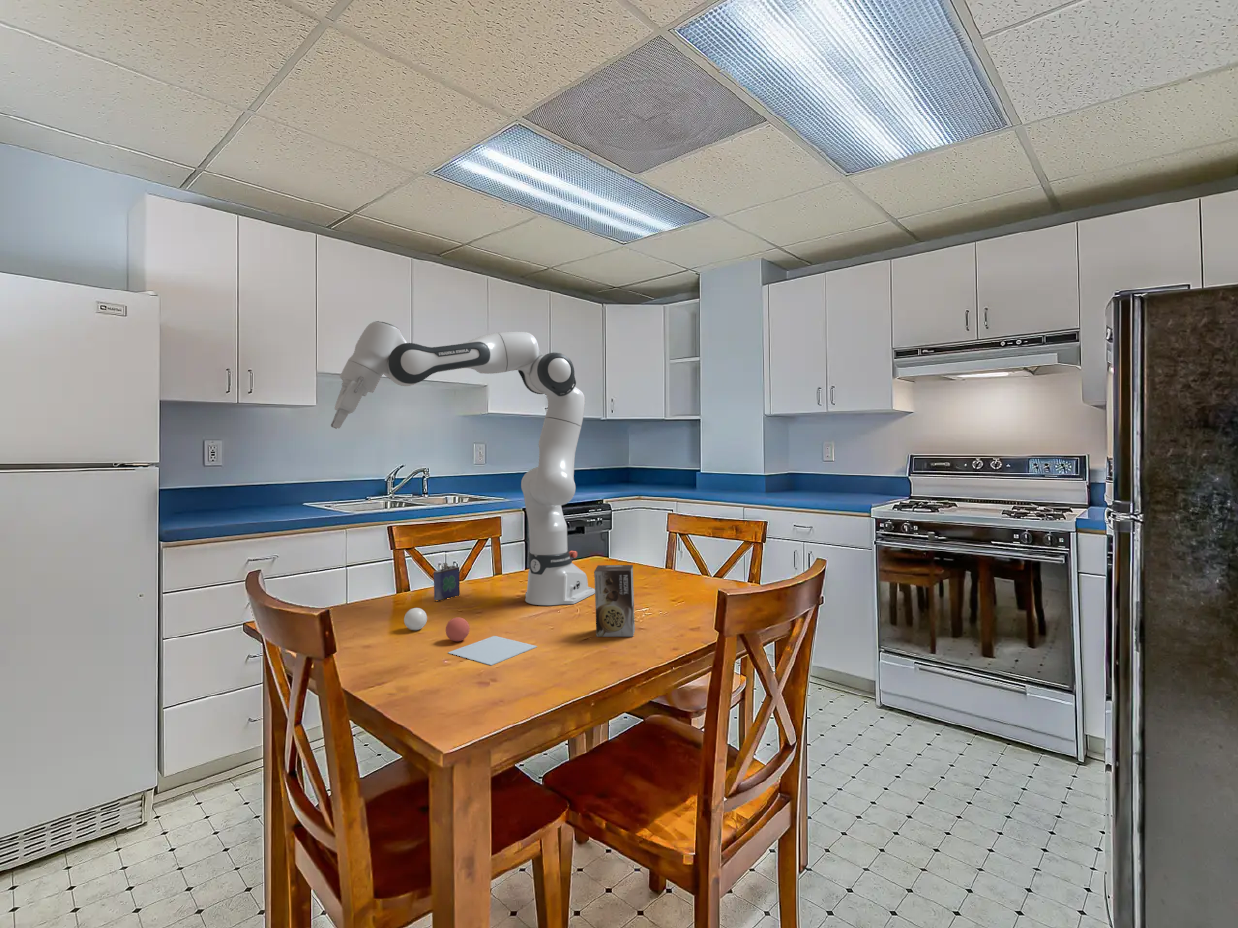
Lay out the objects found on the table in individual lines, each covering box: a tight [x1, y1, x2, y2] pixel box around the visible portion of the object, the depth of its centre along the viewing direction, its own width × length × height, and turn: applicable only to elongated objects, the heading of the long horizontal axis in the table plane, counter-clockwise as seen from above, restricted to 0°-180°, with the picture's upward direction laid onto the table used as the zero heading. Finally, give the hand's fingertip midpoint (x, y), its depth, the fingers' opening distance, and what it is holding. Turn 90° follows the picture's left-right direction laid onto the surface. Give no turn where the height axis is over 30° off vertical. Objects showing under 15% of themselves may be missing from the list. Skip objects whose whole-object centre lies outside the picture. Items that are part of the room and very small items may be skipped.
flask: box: [433, 562, 461, 602], centre depth 190 cm, size 9×3×11 cm, turn 146°
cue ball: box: [403, 607, 428, 631], centre depth 159 cm, size 6×6×6 cm
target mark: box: [447, 635, 538, 666], centre depth 142 cm, size 14×14×1 cm
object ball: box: [445, 616, 470, 642], centre depth 149 cm, size 6×6×6 cm
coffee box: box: [593, 564, 636, 638], centre depth 153 cm, size 9×6×16 cm
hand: (334, 427), depth 159 cm, fingers open, 8 cm apart
